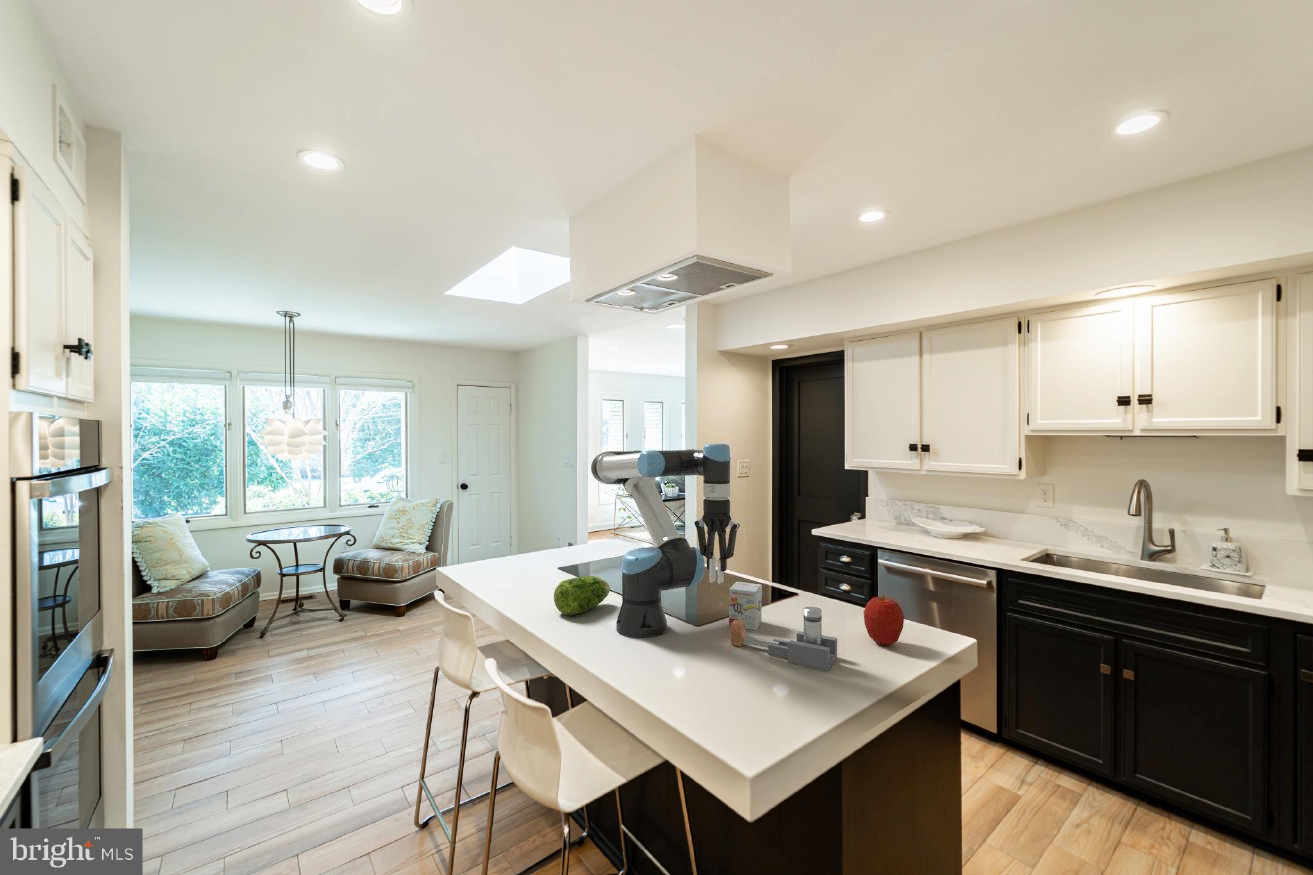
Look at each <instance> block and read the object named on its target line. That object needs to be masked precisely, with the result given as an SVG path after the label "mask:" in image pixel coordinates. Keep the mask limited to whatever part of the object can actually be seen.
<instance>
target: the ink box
mask: <svg viewBox="0 0 1313 875" xmlns="http://www.w3.org/2000/svg"><path fill="white" fill-rule="evenodd" d="M762 595H763V585H762V584H758V583H752V582H751V583H750V582H744V581H743V582H742V581H735V582H734V583H733V584H732V585H731V586H730V587H729V600H728V602H729V604H728V606H729V607H728V610H729V611H728V612H729V613H728V616H729V618H728V627H730V628H731V622H733V621H734V620H740V621H745V630H753V631H754V630H755V631H756V630H757V629H758V628H759V627H760V624H761V623H762V614H763V613H762V606H763V605H762V603H763V600H762V598H763V597H762Z"/></svg>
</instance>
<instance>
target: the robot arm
mask: <svg viewBox="0 0 1313 875" xmlns="http://www.w3.org/2000/svg"><path fill="white" fill-rule="evenodd" d="M731 458H732V457H731V448H730V445H729V444H728V443H705V444H703V448H702V450H701V449H694V448H693V449H678V450H677V449H676V450H674V449H673V450H668V449H667V450H656V449H652V450H639V449H638V450H637V449H635V450H630V451H629V450H627V451H626V450H625V451H624V450H623V451H622V450H621V451H620V450H615V451H613V450H610V451H603V452H601V453H599V454H597V455H596V456H595V457H594V458H593V459H592V462H591V465H590V469H591V474H592V476H593V478H594V479H595V481H598V482H599V483H601V484H603V485H604V484H605V485H622V487H623V488H624V490H625V491H624V492H626V493H627V494H630V495H632V498H633V501H634V503H635V504H636V507H637V509H638V511H639V513H640V515H641V518H642V521H643V522H644V525H645V527H646V529H647V532H648V534H649V535H650V538H651V540H652V543H653V545H654V546H647V547H639V548H634V549H631V550H630V551H627V552H626V553H625V554H624V555H623V557H622V562H621V575H622V576H621V585H622V586H621V589H622V590H621V592H622V593H621V598H622V599H621V602H622V603H621V606H620V610H619V612H618V615H617V619H616V622H615V623H616V624H615V625H616V626H615V628H616V629H615V630H616V632H617V633H619V634H620V635H623V636H625V637H632V638H650V637H656V636H660V635H663V634H664V633H666V632H667V630H668V619H667V617H666V613H665V610H664V607H663V604H662V592H663V591H664V592H665V591H669V590H676V589H681V588H689V587H692V586H695V585H698V584H699V583H700V582H701V580H702V579H703V578H704V575H705V574H704V573H705V567H706V569H707V570H709V572H708V573H709V576H708V580H709V583H711V584H712V583H714V582H716V581H717V584H718V585H720V584H722V583H724V582H725V575H724V574H725V572H727V569H728V568H727V567H728V566H727V564H728V560H729V559H731V558H733V557H734V555H735V554H734V553H735V547H736V546H735V545H736V540H737V533H738V530H739V528H740V527H741V524H740V523H738V522H734V520H732V517H731V500H730V497H731V460H732V459H731ZM682 476H683V477H686V476H700V477H703V479H702V480H703V482H702V483H703V488H702V489H703V490H702V491H703V497H704V499H703V500H702V501H703V503H702V504H703V509H702V510H703V515H702V516H701V518H700V519H699V520H695V521H694V523H693V524H694V526H695V527H696V532H697V539H698V546H699V548H697V546H692V547H691V545H690V543H689V542H688V539H687V538H686V537H683V536H681V535H680V533H679V532H678V529H677V528H676V525H675V524H674V522H673V520H672V517H671V515H670V514H669V512H668V509H667V507H666V506H665V503H664V501H663V499H662V497H661V495H660V493H659V491H658V488H657V487H656V485H655V482H656V479H657V478H663V477H664V478H665V477H682ZM705 526H706V528H707V530H706V531H705ZM728 526H729V533H728V538H727V528H728ZM706 535H707V536H706ZM716 535H717V536H718V550H719V558H718V559H717V558H716V557H714V556H715V554H714V553H715V552H714V551H715V538H716ZM727 539H728V540H727ZM705 559H706V562H705ZM705 564H706V565H705Z"/></svg>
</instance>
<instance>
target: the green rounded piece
mask: <svg viewBox="0 0 1313 875" xmlns="http://www.w3.org/2000/svg"><path fill="white" fill-rule="evenodd" d="M610 586H611V585H609V583H608V582H607V581H606V580H605V579H602V578H601V577H598V576H595V575H585V576H579V577H578V576H577V577H572V578H570V579H569V578H568V579H565V580H562V581H560V582H559V584H558V585H557V586H556V588H554V592H553V602H554V605H555V607H556V609H557V611H558V612H560V613H561V614H562V615H565V616H574V615H578V614H582V613H584V612H586V611H589V610H591V609H593V608H595V607H596V606H598V605H600V604H601V603H603V601H604V600H605V599H606V598H607V597H608V596H609V594H610V591H611V590H610V589H611V587H610Z"/></svg>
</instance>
